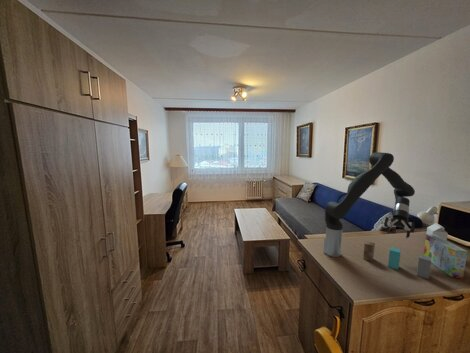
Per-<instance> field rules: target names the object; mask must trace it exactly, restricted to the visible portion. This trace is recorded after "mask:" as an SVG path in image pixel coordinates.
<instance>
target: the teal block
mask: <svg viewBox="0 0 470 353" xmlns="http://www.w3.org/2000/svg"><path fill="white" fill-rule="evenodd" d="M401 250H402V249H399V248H395V247H392V246H390V248H389V255H388V263H387V267H388V268H390V269H393V270H394V269H395V270H399V268H400V259H401Z"/></svg>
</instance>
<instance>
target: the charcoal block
mask: <svg viewBox="0 0 470 353" xmlns="http://www.w3.org/2000/svg"><path fill="white" fill-rule="evenodd" d="M431 266H432V263H431V257H427V256H423V255H422V254H418V259H417V267H416V276H418V277H420V278H423V279H427V280H429V279H430V272H431Z"/></svg>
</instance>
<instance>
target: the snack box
mask: <svg viewBox="0 0 470 353" xmlns="http://www.w3.org/2000/svg"><path fill="white" fill-rule="evenodd" d="M424 242H425V243H424V249H423V256H427V257H431V264H432V265H434V266H436V267H437V268H438V269H440V270H441V271H443V272H444V273H445V274H446V275H448V276H450V278H456V279H464V274H465V269H466V264H467V259H468V253H469V251H467V250H466V249H464V248H462V247H460V246H458V245H456V244H454V243H452V242H451V241H449V240H448V239H447V240H445V239H443V238H441V237H439V236H437V235H431V234H425V241H424Z"/></svg>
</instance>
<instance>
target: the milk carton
mask: <svg viewBox="0 0 470 353" xmlns="http://www.w3.org/2000/svg"><path fill="white" fill-rule="evenodd" d="M426 234H431V235H437V236H439V237H441V238H443V239H445V240H447V241H448V232H447V231H446V230H445V227H444V226H442V225H440V224H439V223H437V222H434V223H433V224H431V225H429V226H427V227H426ZM426 234H425V235H426Z"/></svg>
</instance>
